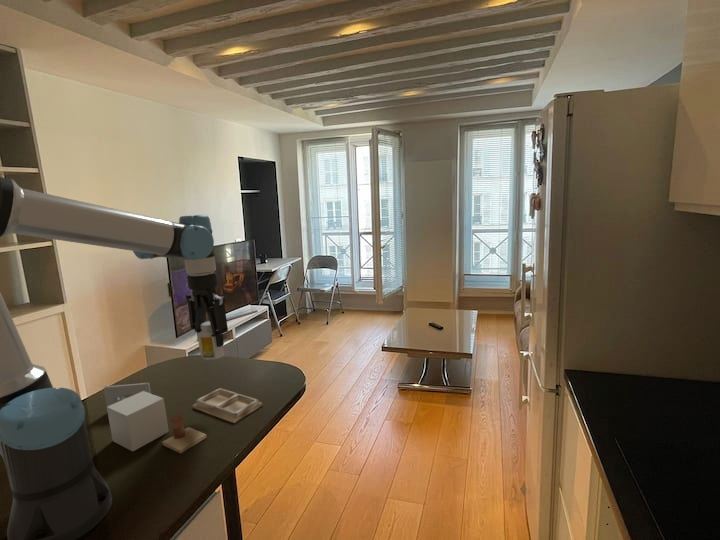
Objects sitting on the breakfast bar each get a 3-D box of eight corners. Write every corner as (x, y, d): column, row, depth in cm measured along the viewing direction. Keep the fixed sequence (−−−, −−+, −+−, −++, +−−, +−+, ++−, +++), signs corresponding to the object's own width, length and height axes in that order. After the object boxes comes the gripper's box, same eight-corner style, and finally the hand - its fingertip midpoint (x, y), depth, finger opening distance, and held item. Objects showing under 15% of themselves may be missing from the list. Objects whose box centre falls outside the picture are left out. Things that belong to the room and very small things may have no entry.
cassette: (154, 406, 113) (150, 381, 112) (151, 410, 111) (147, 384, 110) (110, 411, 112) (105, 385, 111) (106, 414, 110) (102, 388, 109)
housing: (132, 451, 92) (126, 415, 91) (112, 441, 97) (106, 406, 95) (168, 431, 100) (163, 398, 98) (148, 422, 104) (143, 390, 103)
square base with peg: (180, 453, 90) (177, 430, 89) (162, 445, 94) (159, 422, 93) (206, 437, 96) (203, 415, 95) (189, 430, 100) (186, 408, 99)
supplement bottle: (199, 356, 111) (195, 323, 109) (218, 351, 114) (214, 318, 112) (206, 361, 107) (201, 327, 105) (225, 356, 110) (221, 322, 108)
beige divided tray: (234, 423, 102) (233, 416, 101) (193, 408, 111) (192, 401, 111) (262, 405, 110) (262, 398, 110) (222, 392, 119) (221, 386, 119)
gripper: (236, 272, 104) (245, 355, 108) (192, 269, 114) (202, 346, 118) (212, 277, 98) (223, 366, 102) (168, 274, 108) (180, 354, 112)
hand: (212, 355), depth 110 cm, fingers closed on supplement bottle, 5 cm apart
